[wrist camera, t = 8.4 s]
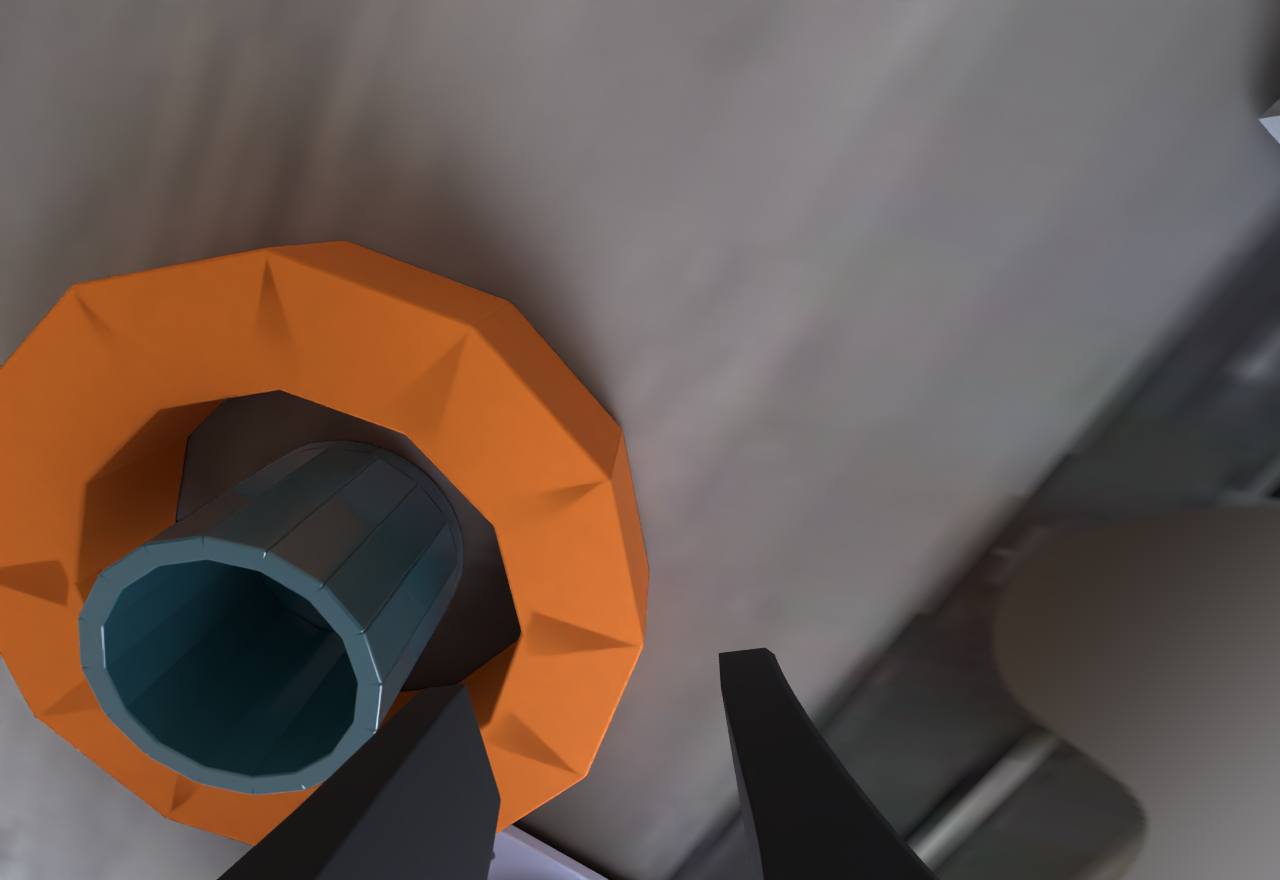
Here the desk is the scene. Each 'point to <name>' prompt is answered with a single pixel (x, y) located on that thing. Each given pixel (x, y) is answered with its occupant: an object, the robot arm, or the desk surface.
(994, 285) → the desk surface
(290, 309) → the ring
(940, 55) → the desk surface
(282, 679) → the cup
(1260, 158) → the desk surface
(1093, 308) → the desk surface
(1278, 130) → the tall grey leaning box
